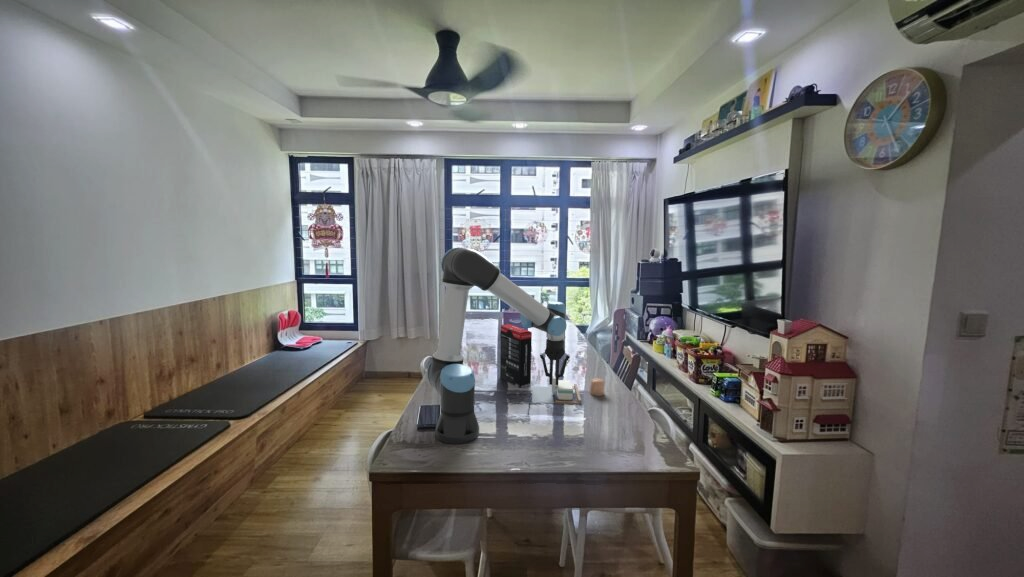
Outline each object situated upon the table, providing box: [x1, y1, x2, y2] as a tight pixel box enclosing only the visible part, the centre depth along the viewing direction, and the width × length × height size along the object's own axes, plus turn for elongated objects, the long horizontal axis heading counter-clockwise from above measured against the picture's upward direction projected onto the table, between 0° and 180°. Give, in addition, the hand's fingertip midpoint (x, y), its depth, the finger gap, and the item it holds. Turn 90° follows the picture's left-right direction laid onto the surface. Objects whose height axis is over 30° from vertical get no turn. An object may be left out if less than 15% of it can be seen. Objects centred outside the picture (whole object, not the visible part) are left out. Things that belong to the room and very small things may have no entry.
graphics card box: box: [499, 324, 533, 389], centre depth 190 cm, size 17×7×27 cm, turn 35°
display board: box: [531, 383, 582, 405], centre depth 177 cm, size 18×20×3 cm
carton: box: [556, 379, 574, 401], centre depth 177 cm, size 10×6×5 cm, turn 177°
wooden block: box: [589, 377, 605, 397], centre depth 183 cm, size 6×6×6 cm
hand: (553, 391), depth 177 cm, fingers closed
